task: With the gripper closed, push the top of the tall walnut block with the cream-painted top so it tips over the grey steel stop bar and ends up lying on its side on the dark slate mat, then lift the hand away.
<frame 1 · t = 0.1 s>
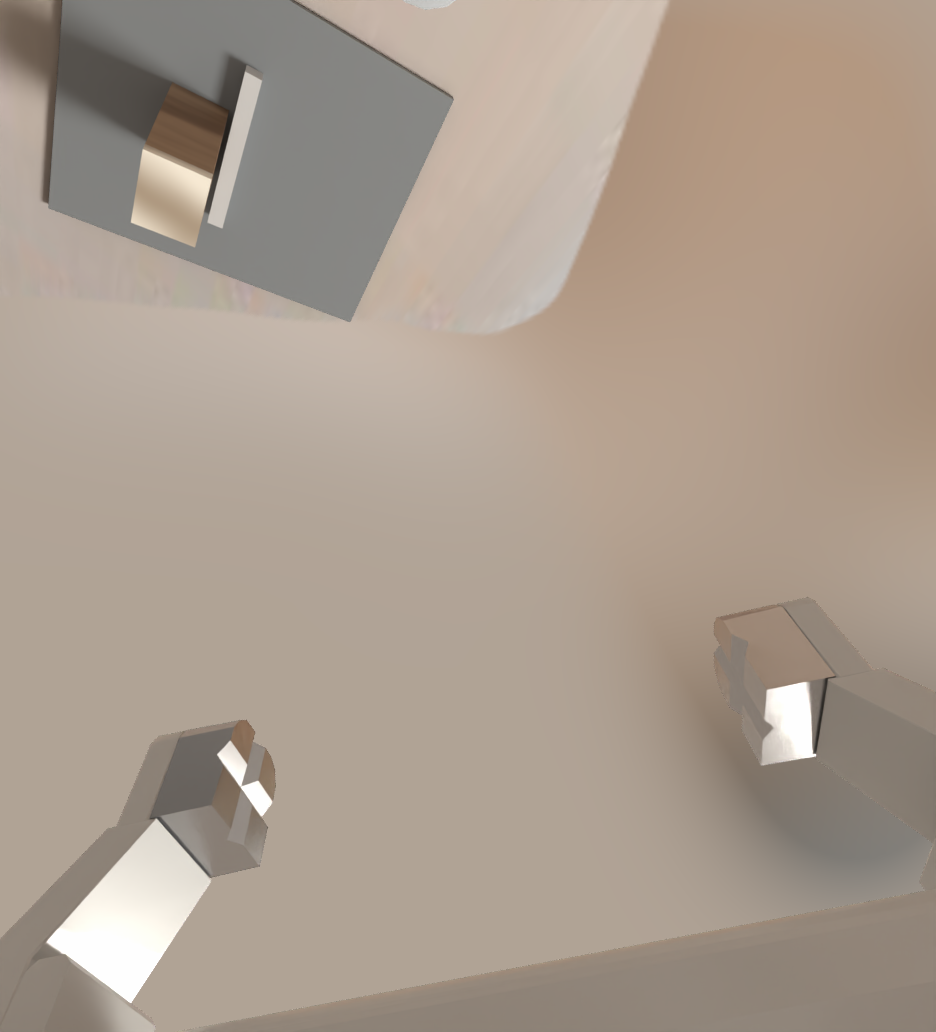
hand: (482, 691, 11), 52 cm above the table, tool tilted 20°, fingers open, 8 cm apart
walnut block: (194, 129, 48), point 1 cm above the table, touching slate mat
slate mat: (247, 151, 50), on the table
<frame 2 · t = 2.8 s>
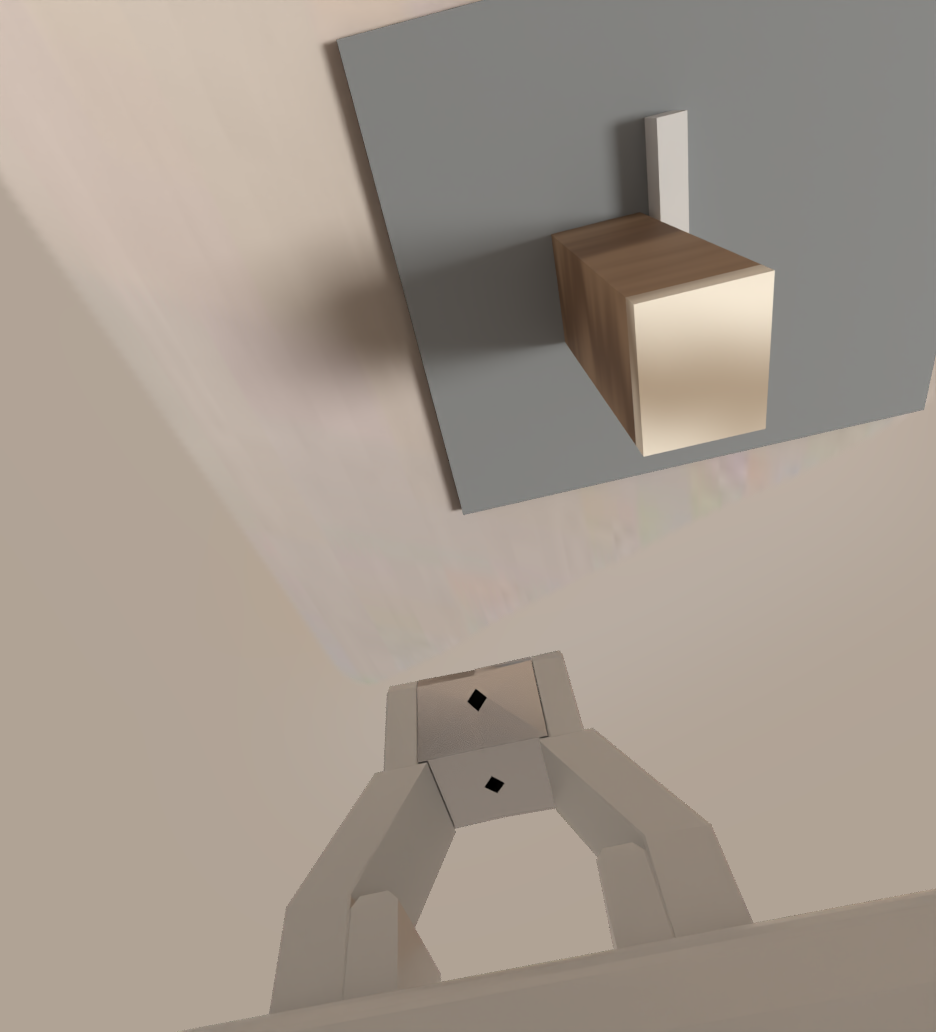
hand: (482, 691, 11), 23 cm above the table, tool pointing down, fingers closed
walnut block: (600, 280, 29), point 1 cm above the table, touching slate mat
slate mat: (681, 257, 29), on the table
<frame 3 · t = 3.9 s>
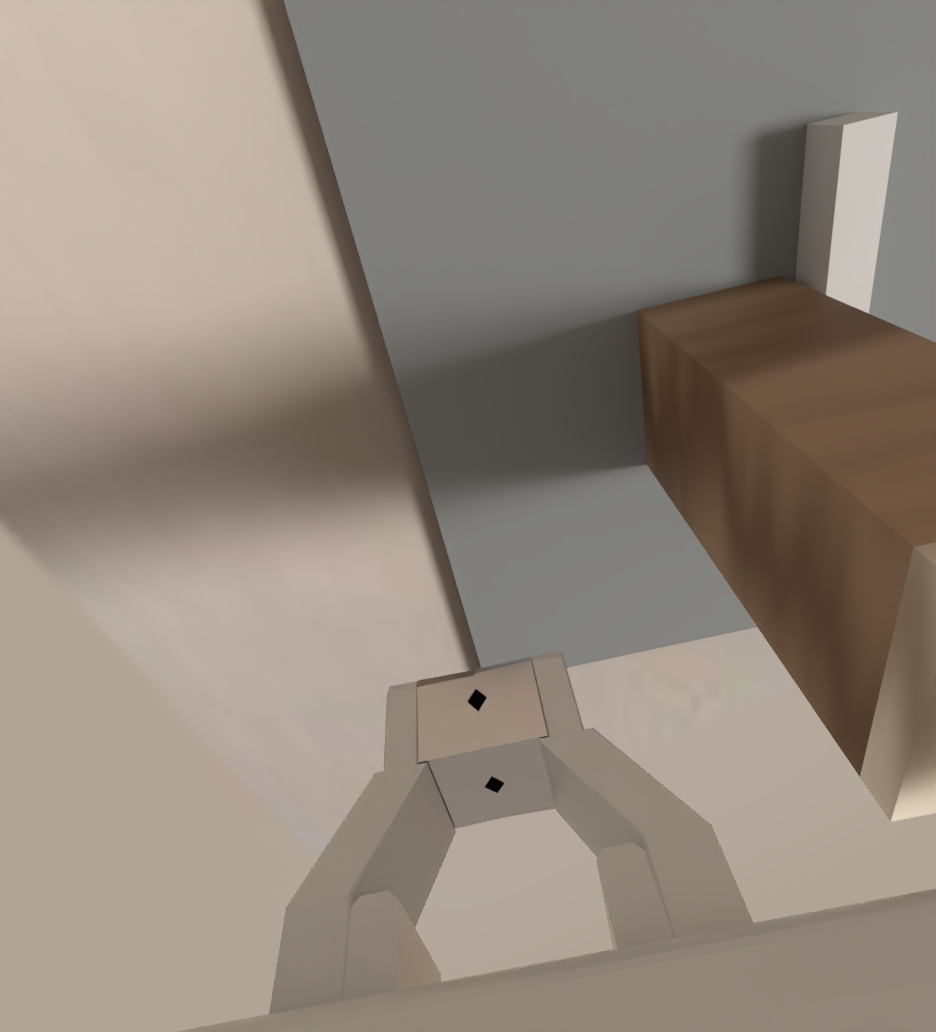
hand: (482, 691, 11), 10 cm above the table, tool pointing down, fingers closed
walnut block: (708, 377, 18), point 1 cm above the table, touching slate mat
slate mat: (831, 339, 19), on the table
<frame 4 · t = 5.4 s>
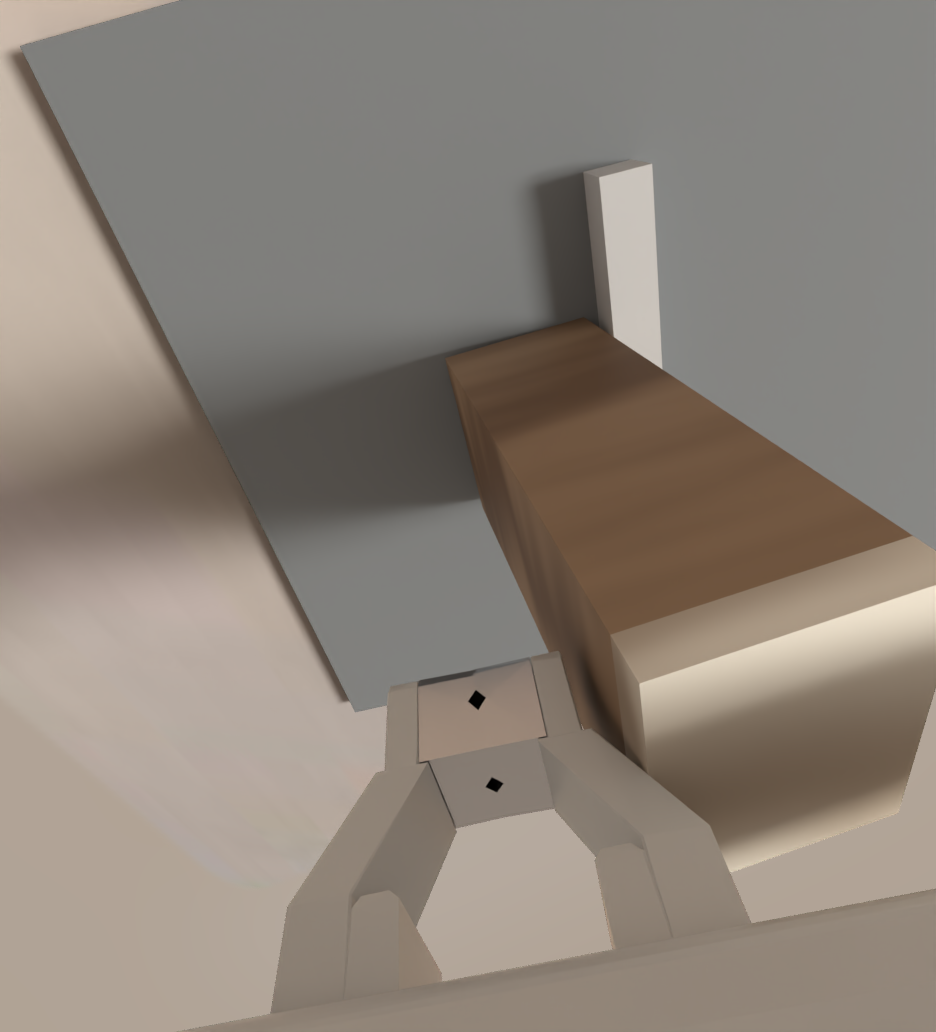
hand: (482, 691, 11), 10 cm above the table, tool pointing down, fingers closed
walnut block: (529, 419, 18), point 1 cm above the table, tilted 7°, touching gripper, slate mat
slate mat: (653, 376, 19), on the table
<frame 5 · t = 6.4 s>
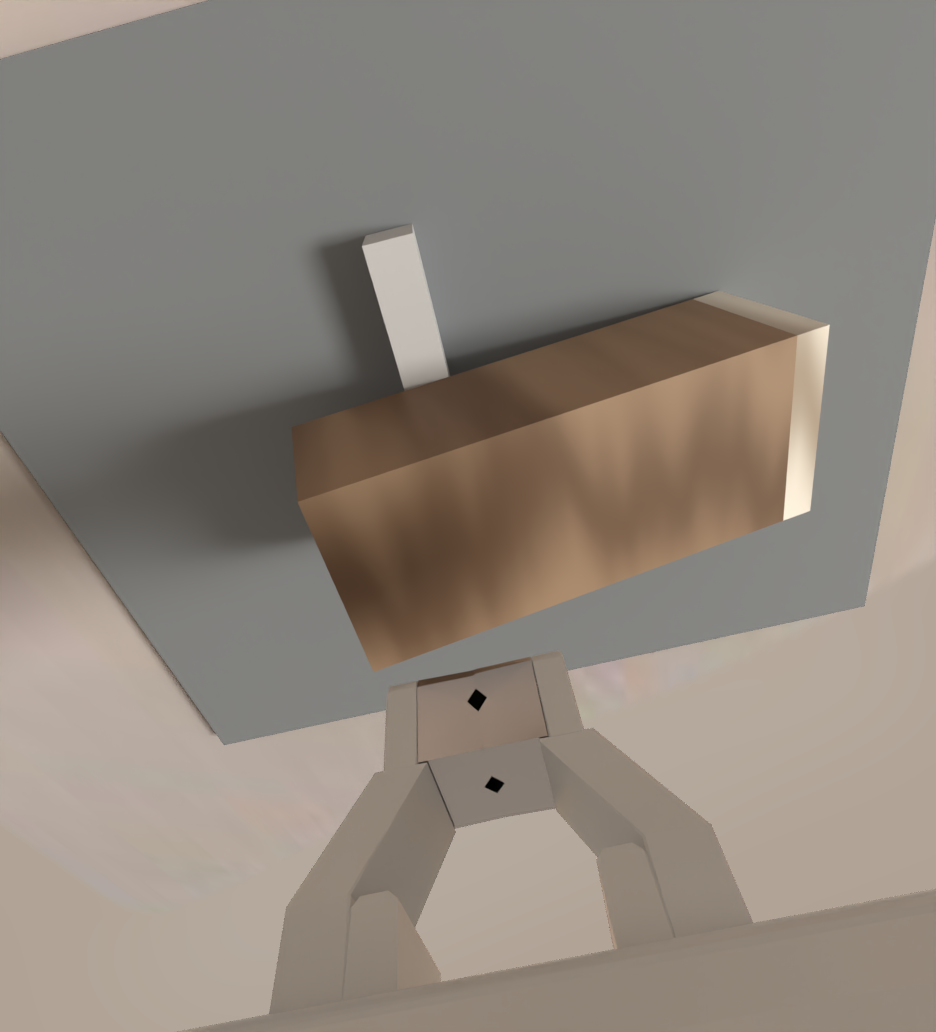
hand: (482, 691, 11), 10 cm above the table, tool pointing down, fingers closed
walnut block: (331, 547, 15), point 5 cm above the table, tilted 101°, touching slate mat
slate mat: (476, 425, 19), on the table
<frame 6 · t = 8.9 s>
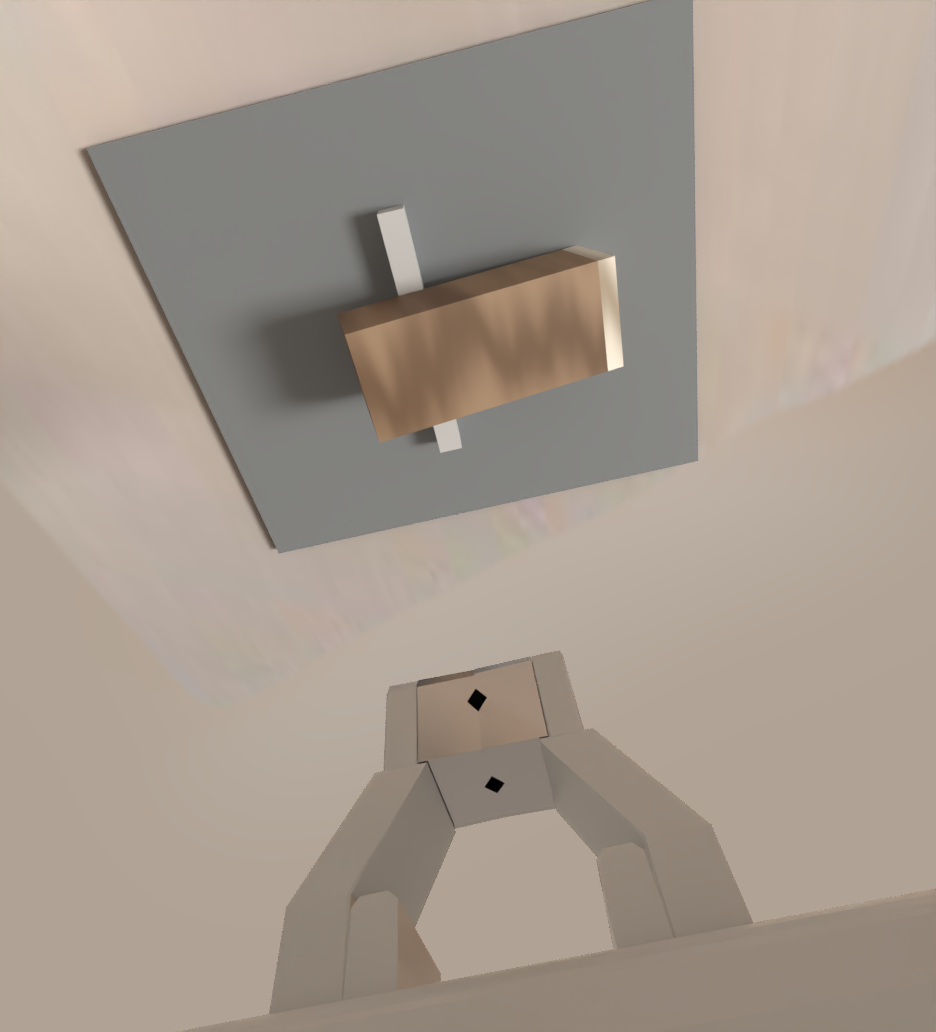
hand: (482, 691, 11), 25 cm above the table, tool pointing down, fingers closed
walnut block: (358, 377, 28), point 5 cm above the table, tilted 101°, touching slate mat
slate mat: (442, 327, 32), on the table
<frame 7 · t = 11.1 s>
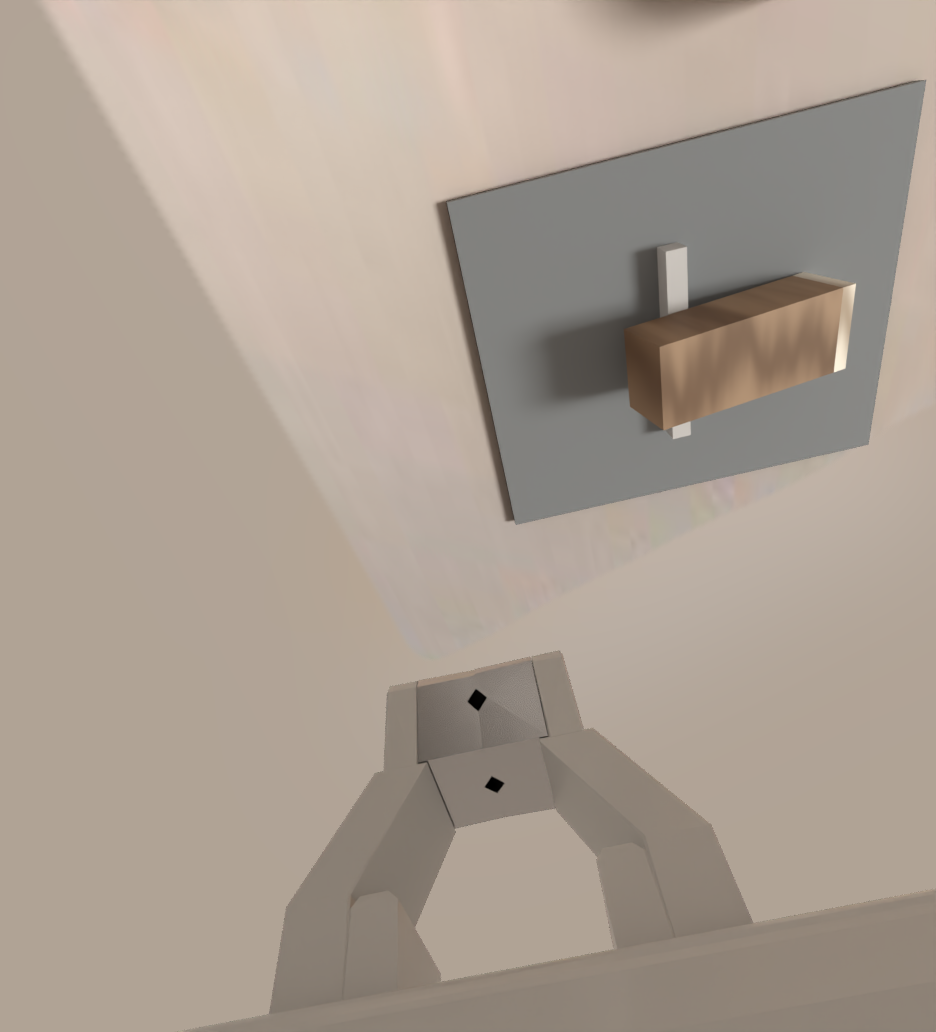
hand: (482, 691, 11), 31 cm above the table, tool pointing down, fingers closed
walnut block: (643, 379, 36), point 5 cm above the table, tilted 101°, touching slate mat
slate mat: (682, 337, 40), on the table
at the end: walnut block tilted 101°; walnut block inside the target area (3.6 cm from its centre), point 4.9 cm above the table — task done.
